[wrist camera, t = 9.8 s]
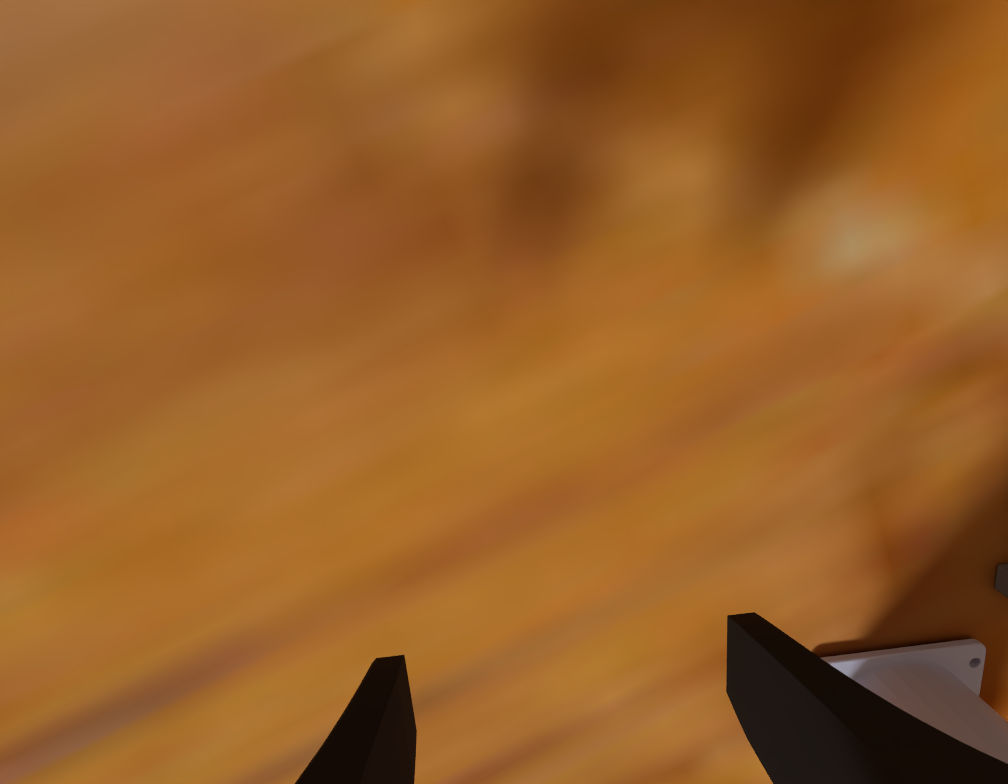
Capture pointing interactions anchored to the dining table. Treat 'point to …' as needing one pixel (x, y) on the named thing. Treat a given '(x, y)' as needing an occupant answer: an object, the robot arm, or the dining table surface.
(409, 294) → the dining table surface
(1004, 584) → the gray square frame
